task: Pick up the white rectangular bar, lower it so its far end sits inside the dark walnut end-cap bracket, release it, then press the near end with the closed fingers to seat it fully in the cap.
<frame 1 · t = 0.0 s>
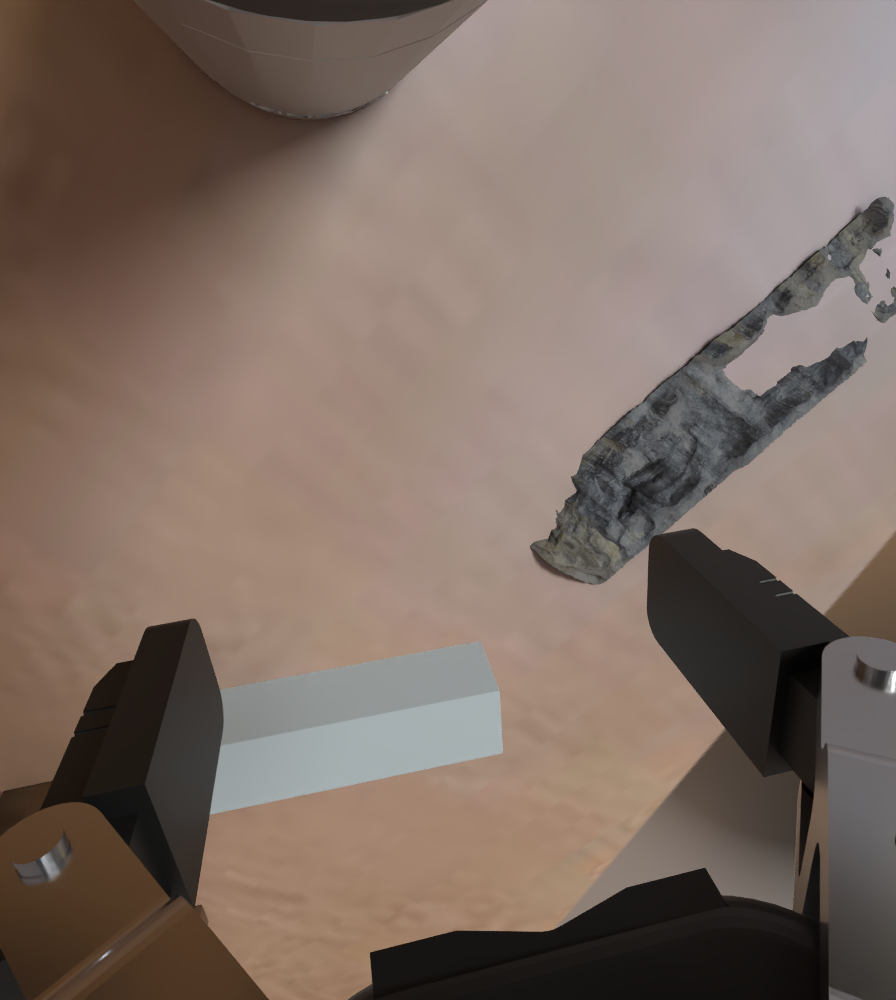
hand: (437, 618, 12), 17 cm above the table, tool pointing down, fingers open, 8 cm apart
end cap: (130, 858, 36), on the table
white rectangular bar: (329, 696, 34), on the table
grey flat forked piece: (708, 413, 32), on the table
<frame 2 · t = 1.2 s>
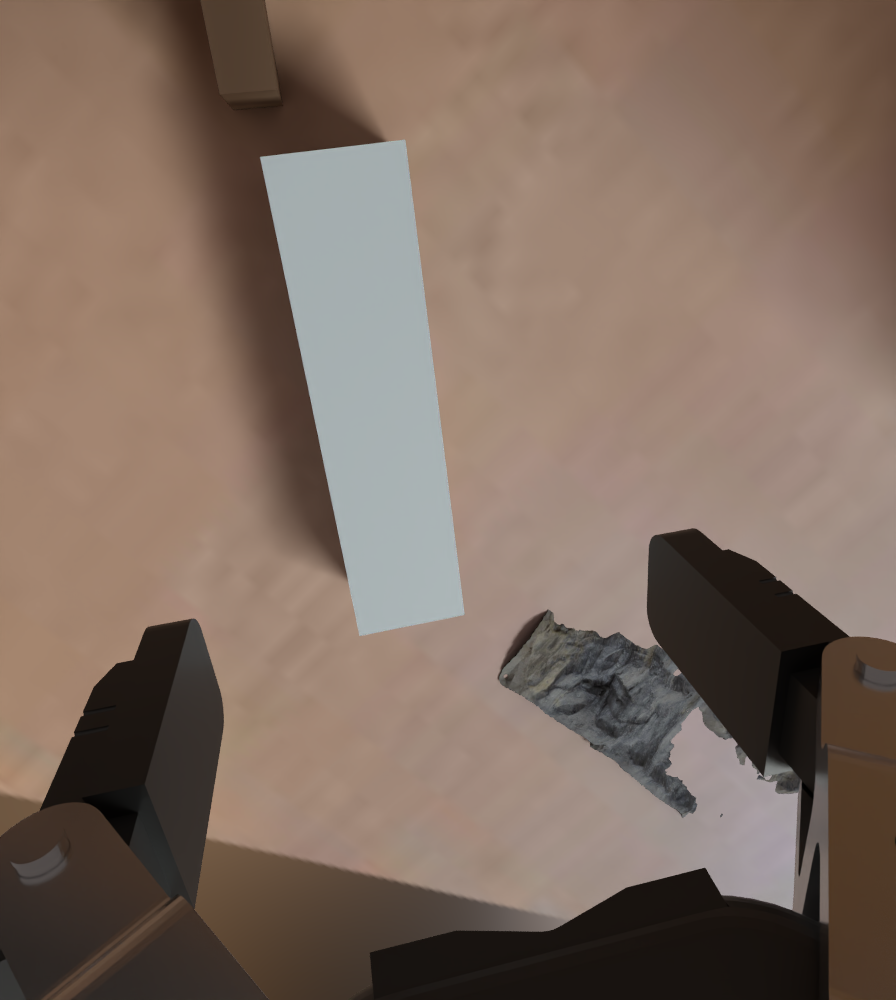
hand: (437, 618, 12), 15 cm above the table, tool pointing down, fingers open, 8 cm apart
end cap: (34, 24, 19), on the table
white rectangular bar: (370, 391, 26), on the table
grey flat forked piece: (648, 720, 36), on the table
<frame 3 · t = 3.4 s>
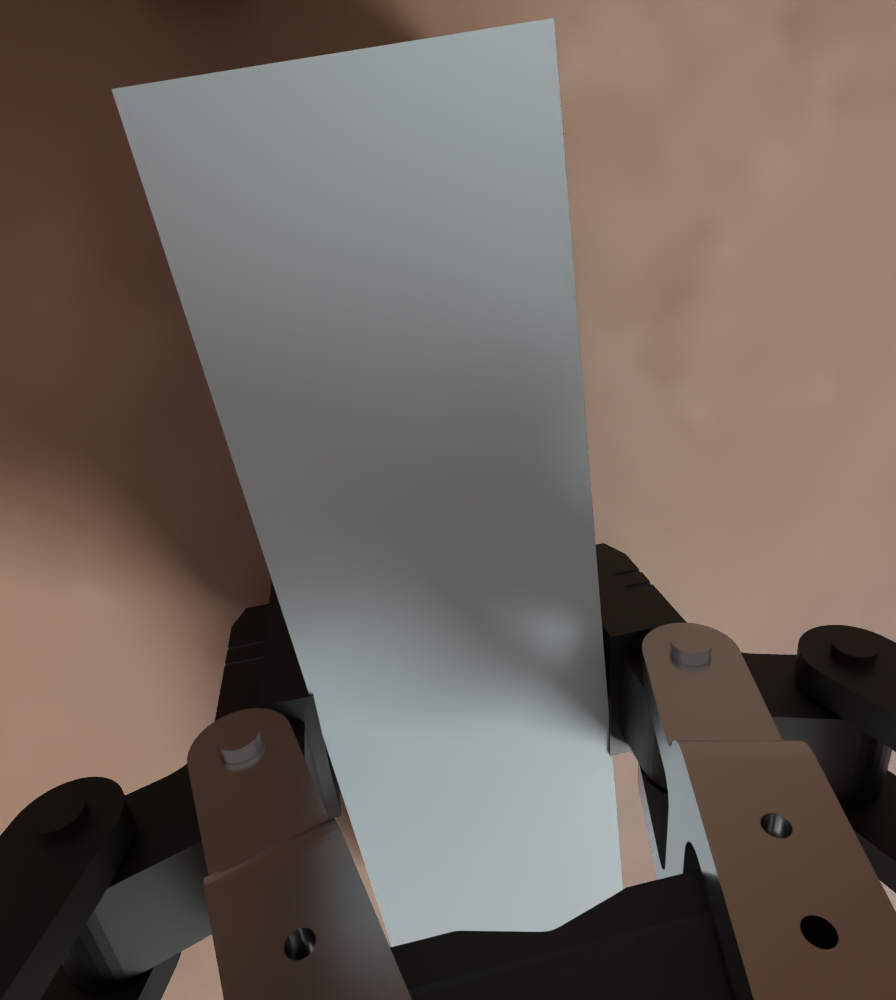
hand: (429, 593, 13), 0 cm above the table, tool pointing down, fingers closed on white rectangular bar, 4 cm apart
white rectangular bar: (426, 578, 13), on the table, touching gripper
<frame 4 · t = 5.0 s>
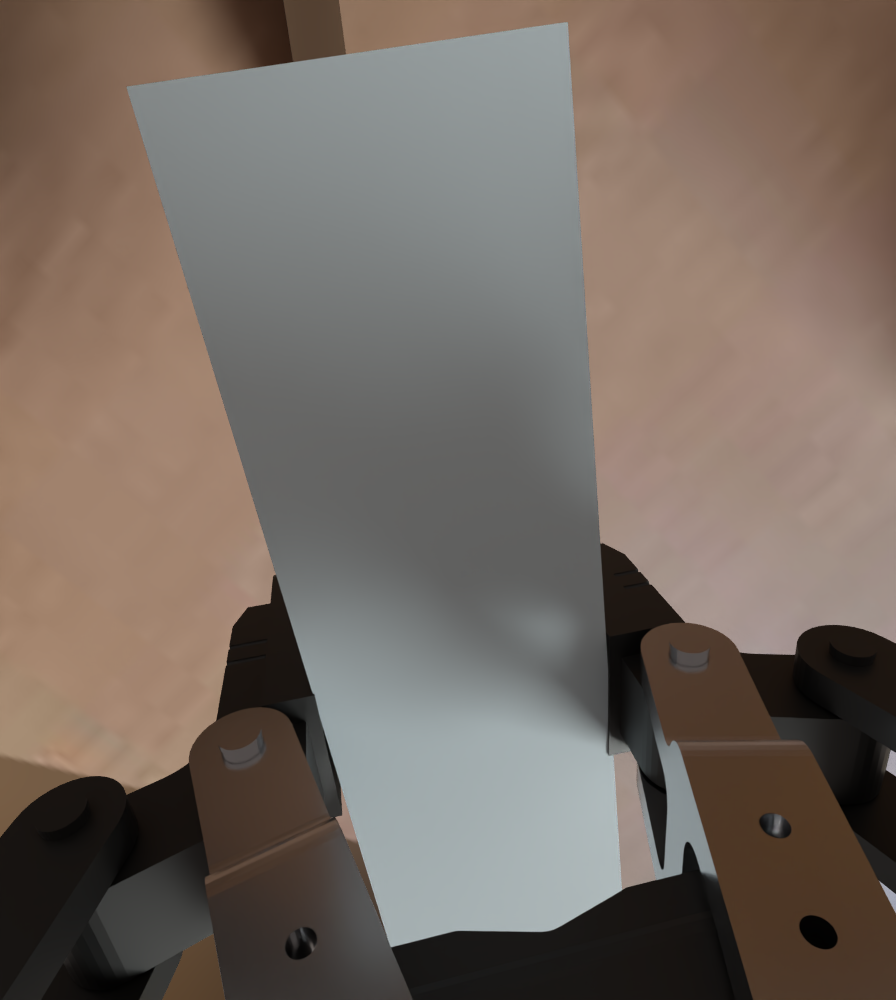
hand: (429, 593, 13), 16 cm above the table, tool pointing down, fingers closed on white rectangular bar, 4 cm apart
end cap: (131, 65, 21), on the table
white rectangular bar: (428, 579, 13), point 15 cm above the table, touching gripper
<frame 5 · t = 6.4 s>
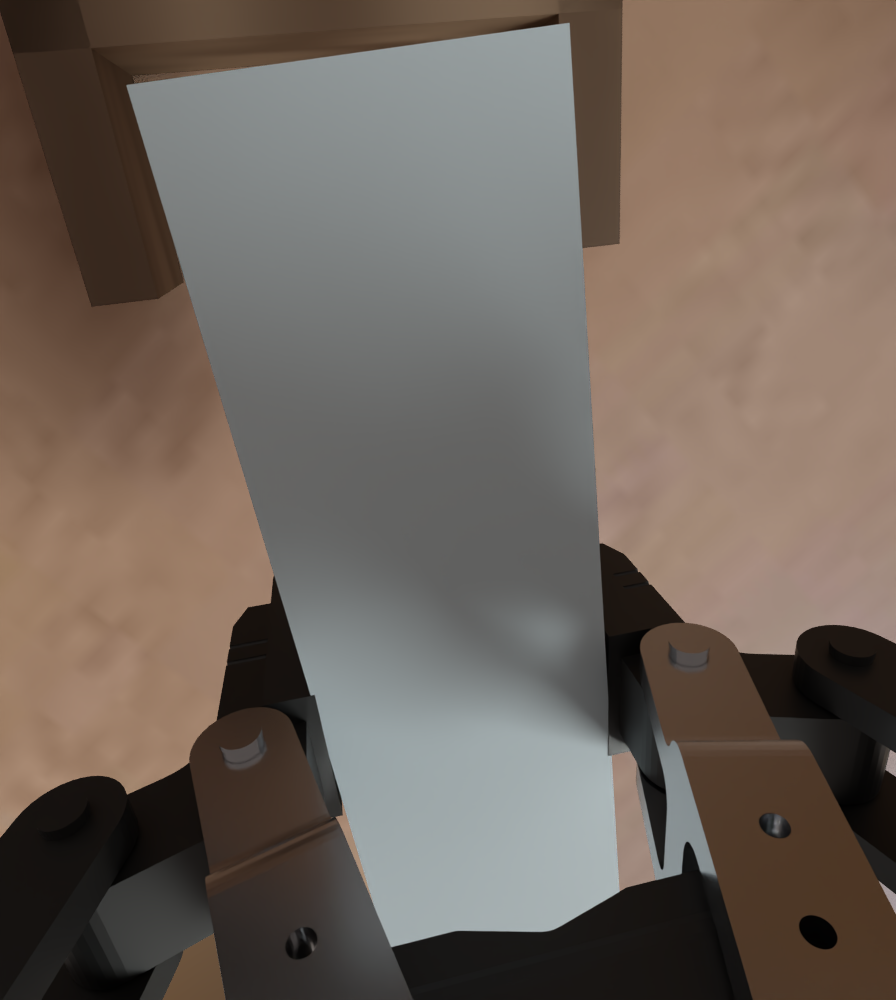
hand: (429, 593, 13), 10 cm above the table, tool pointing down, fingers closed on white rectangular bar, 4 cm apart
end cap: (346, 166, 19), on the table
white rectangular bar: (427, 580, 13), point 10 cm above the table, touching gripper
when the fingers open (2 cm above the table, at t = 8.3 s): white rectangular bar stays where it is, point 1 cm above the table.
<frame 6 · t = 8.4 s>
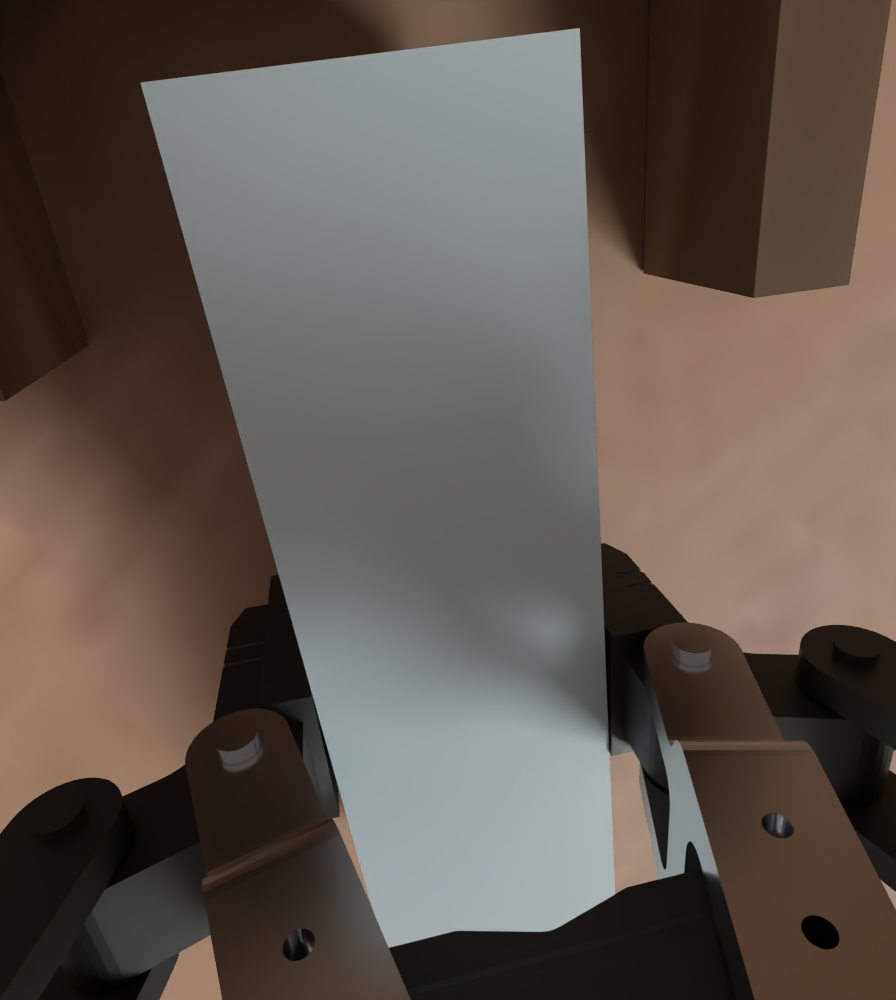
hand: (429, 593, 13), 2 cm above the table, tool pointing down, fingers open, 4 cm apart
end cap: (359, 150, 11), on the table
white rectangular bar: (427, 580, 13), point 1 cm above the table
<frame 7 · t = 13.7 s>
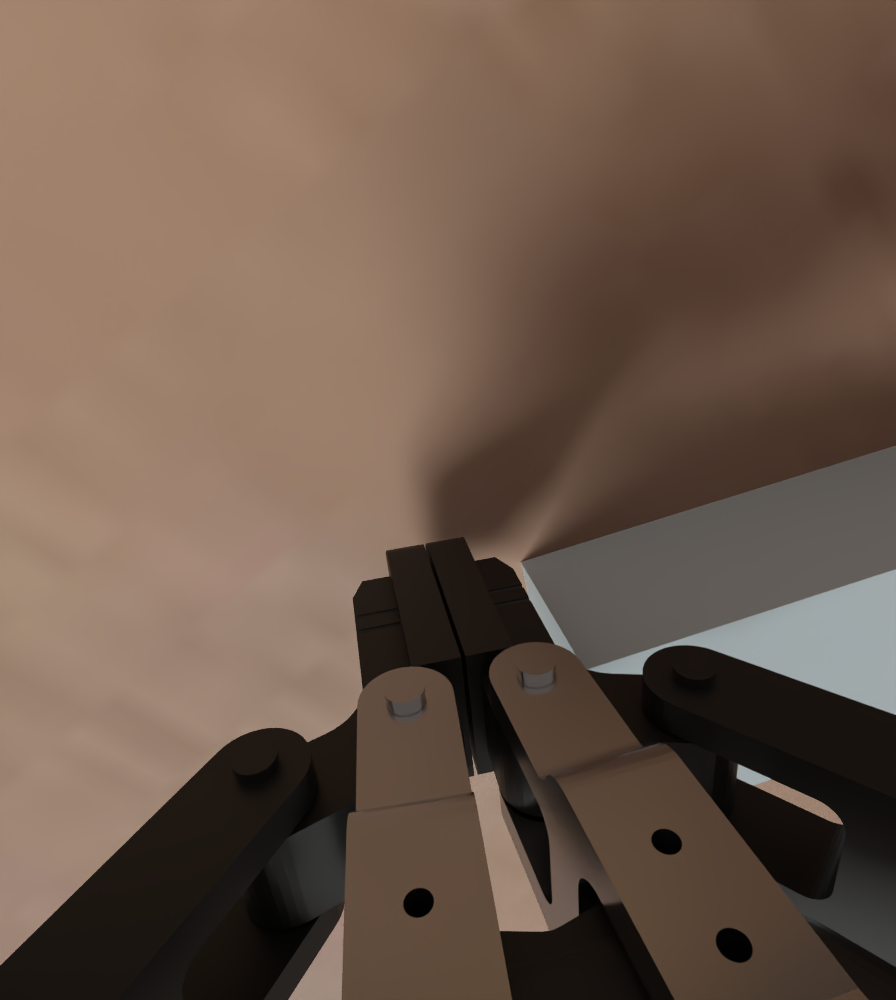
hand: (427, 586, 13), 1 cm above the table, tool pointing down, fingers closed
white rectangular bar: (852, 528, 16), on the table
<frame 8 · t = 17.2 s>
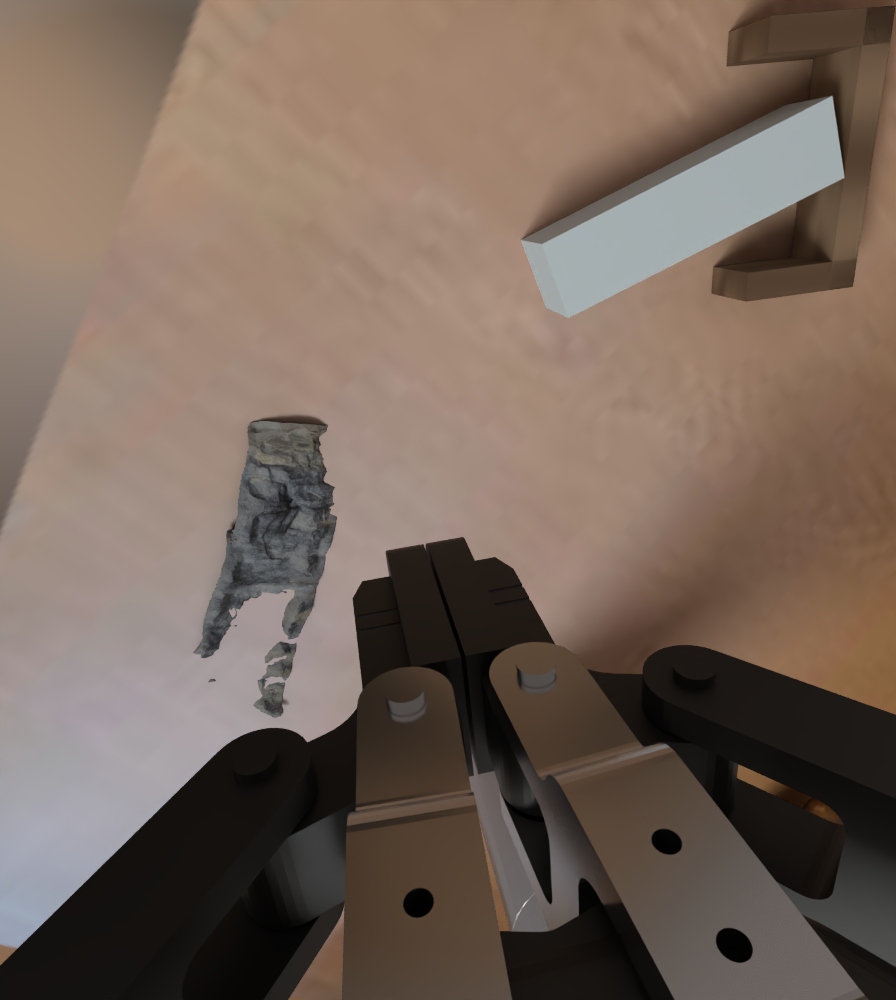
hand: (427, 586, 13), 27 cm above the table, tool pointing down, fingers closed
end cap: (761, 167, 38), on the table
white rectangular bar: (659, 209, 38), on the table
grey flat forked piece: (264, 567, 43), on the table
decorative turtle: (758, 833, 62), on the table
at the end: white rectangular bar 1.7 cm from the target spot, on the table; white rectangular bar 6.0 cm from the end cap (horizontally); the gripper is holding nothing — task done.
